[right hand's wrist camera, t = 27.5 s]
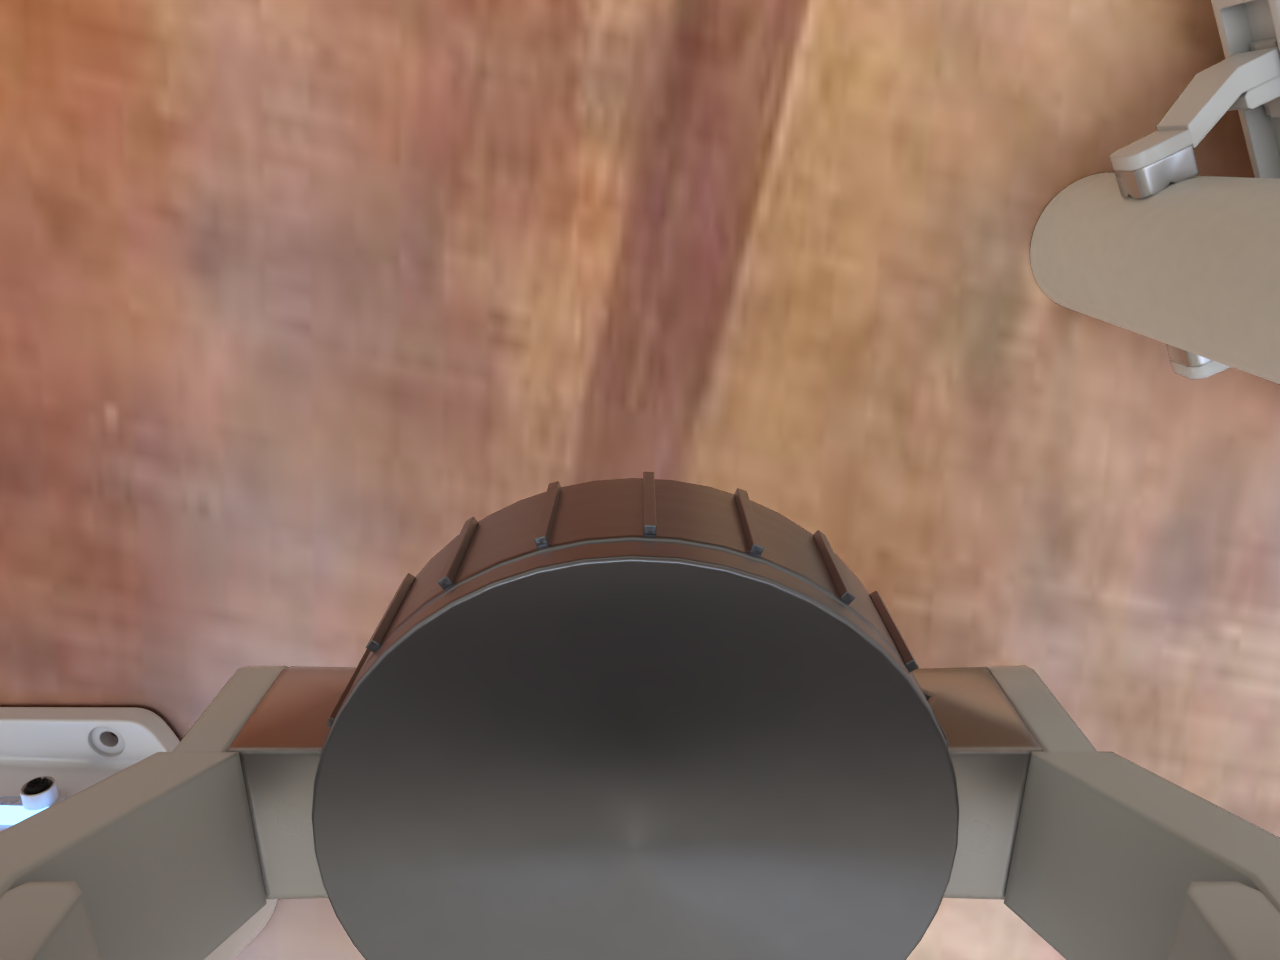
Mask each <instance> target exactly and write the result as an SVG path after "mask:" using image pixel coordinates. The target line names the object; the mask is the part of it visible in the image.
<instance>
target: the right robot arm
mask: <svg viewBox="0 0 1280 960" xmlns="http://www.w3.org/2000/svg"><path fill="white" fill-rule="evenodd" d="M355 670H356V668H346V667H295V666H292V667H287V666H248V667H244V668H240V669H238V670H237V671H236V672H235V673H234V675H233V676H232V677H231V678H230V680H229V681H228V682H227V683H226V685H225V686H224V687H223V689H222V690H221V691H220V692H219V694H218V695H217V696H216V697H215V699H214V700H213V701H212V702H211V704H210V705H209V706H208V707H207V709H206V710H205V711H204V713H203V714H202V715H201V716H200V718H199V719H198V720H197V721H196V723H195V724H194V725H193V726H192V728H191V729H190V730H189V731H188V733H187V734H186V735H185V736H184V738H183V739H182V740H181V742H180V741H179V739H178V738H177V736H176V735H175V734H174V732H173V731H172V730H171V728H170V727H169V726H168V725H167V724H166V723H165V721H164V720H163V719H162V718H160V717H159V716H158V715H157V714H155V713H154V712H152V711H150V710H147V709H143V708H137V707H0V960H234V959H235V958H236V957H237V956H238V955H239V954H240V953H241V951H242V950H243V949H244V948H245V947H246V946H247V945H248V944H249V943H250V942H251V941H252V940H253V939H254V938H255V937H256V936H257V935H258V934H259V933H260V932H261V931H262V929H263V928H264V927H265V926H266V924H267V923H268V921H269V920H270V918H271V916H272V914H273V912H274V910H275V907H276V904H277V901H278V899H297V898H329V897H328V895H327V893H326V890H325V888H324V886H323V882H322V878H321V874H320V871H319V867H318V863H317V859H316V855H315V849H314V837H313V826H312V804H313V790H314V780H315V776H316V772H317V768H318V764H319V760H320V756H321V752H322V747H323V745H324V743H325V740H326V738H327V736H328V733H329V731H330V729H331V728H329V727H327V723H328V720H329V717H330V715H331V713H332V712H333V710H334V708H335V706H336V704H337V703H338V701H339V699H340V697H341V695H342V693H343V692H344V690H345V688H346V686H347V684H348V683H349V681H350V679H351V677H352V675H353V674H354V672H355ZM912 672H913V674H914V676H915V678H916V680H917V682H918V684H919V686H920V687H921V689H922V691H923V693H924V695H925V697H926V699H927V701H928V703H929V705H930V706H931V708H932V710H933V712H934V714H935V716H936V718H937V720H938V722H939V724H940V725H941V727H942V729H943V731H944V733H945V735H946V737H947V739H948V742H949V745H947V746H948V749H949V753H950V757H951V760H952V764H953V767H954V771H955V775H956V782H957V791H958V801H959V810H960V811H959V828H958V845H957V850H956V855H955V859H954V864H953V868H952V873H951V877H950V881H949V883H948V886H947V888H946V891H945V893H944V896H943V898H972V899H1005V900H1004V904H1005V905H1007V906H1008V907H1009V908H1010V909H1011V910H1012V911H1013V912H1014V913H1015V914H1017V915H1018V916H1019V917H1020V918H1021V919H1022V920H1023V921H1024V922H1025V923H1027V924H1028V925H1029V926H1030V927H1031V928H1032V929H1033V930H1034V931H1035V932H1037V933H1038V934H1039V935H1040V936H1041V937H1042V938H1043V939H1044V940H1045V941H1047V942H1048V943H1049V944H1050V945H1051V946H1052V947H1053V948H1054V949H1055V950H1057V951H1058V952H1059V953H1060V954H1061V955H1062V956H1063V957H1064V958H1065V959H1067V960H1280V838H1279V837H1277V836H1275V835H1273V834H1271V833H1269V832H1267V831H1265V830H1263V829H1261V828H1260V827H1258V826H1256V825H1254V824H1252V823H1250V822H1248V821H1246V820H1244V819H1242V818H1240V817H1238V816H1236V815H1234V814H1232V813H1230V812H1228V811H1226V810H1224V809H1222V808H1221V807H1219V806H1217V805H1215V804H1213V803H1211V802H1209V801H1207V800H1205V799H1203V798H1201V797H1199V796H1197V795H1195V794H1193V793H1191V792H1189V791H1187V790H1185V789H1183V788H1182V787H1180V786H1178V785H1176V784H1174V783H1172V782H1170V781H1168V780H1166V779H1164V778H1162V777H1160V776H1158V775H1156V774H1154V773H1152V772H1150V771H1148V770H1146V769H1144V768H1143V767H1141V766H1139V765H1137V764H1135V763H1133V762H1131V761H1129V760H1127V759H1125V758H1123V757H1121V756H1119V755H1117V754H1115V753H1113V752H1098V751H1097V750H1096V749H1095V748H1094V746H1093V745H1092V744H1091V742H1090V741H1089V740H1088V739H1087V737H1086V736H1085V735H1084V733H1083V732H1082V731H1081V730H1080V728H1079V727H1078V726H1077V725H1076V723H1075V722H1074V721H1073V719H1072V718H1071V717H1070V716H1069V714H1068V713H1067V712H1066V710H1065V709H1064V708H1063V707H1062V705H1061V704H1060V703H1059V701H1058V700H1057V699H1056V698H1055V696H1054V695H1053V694H1052V692H1051V691H1050V690H1049V689H1048V687H1047V686H1046V685H1045V684H1044V682H1043V681H1042V680H1041V678H1040V677H1039V676H1038V675H1037V673H1036V672H1035V671H1034V670H1033V669H1031V668H1029V667H1027V666H1025V665H1023V666H997V667H972V668H932V669H916V670H914V671H912ZM110 732H112V733H114V734H115V735H116V736H117V737H115V736H113V735H112V734H111V733H110Z"/></svg>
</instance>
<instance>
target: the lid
mask: <svg viewBox="0 0 1280 960" xmlns="http://www.w3.org/2000/svg"><path fill="white" fill-rule="evenodd" d="M366 648H367V650H366V652H365V654H364V655H363V657H362V659H361V661H360V663H359V664H358V666H357V668H356V670H355V672H354V674H353V675H352V677H351V679H350V681H349V683H348V684H347V686H346V688H345V690H344V692H343V693H342V695H341V697H340V699H339V701H338V703H337V704H336V706H335V708H334V710H333V712H332V713H331V715H330V717H329V720H328V723H327V727H329V728H331V729H330V731H329V733H328V736H327V738H326V740H325V743H324V745H323V747H322V752H321V756H320V760H319V764H318V768H317V772H316V776H315V780H314V790H313V804H312V826H313V837H314V849H315V855H316V859H317V863H318V867H319V871H320V874H321V878H322V882H323V886H324V888H325V890H326V893H327V895H328V897H329V900H330V902H331V904H332V907H333V909H334V912H335V914H336V916H337V918H338V919H339V921H340V923H341V924H342V926H343V928H344V929H345V931H346V933H347V934H348V936H349V937H350V939H351V941H352V942H353V944H354V946H355V947H356V948H357V949H358V950H359V952H360V953H361V954H362V955H363V957H364V958H365V959H366V960H906V959H907V957H908V956H909V955H910V954H911V952H912V951H913V950H914V948H915V947H916V946H917V945H918V943H919V942H920V941H921V939H922V937H923V935H924V934H925V932H926V930H927V929H928V927H929V925H930V923H931V922H932V920H933V918H934V916H935V915H936V913H937V911H938V909H939V906H940V904H941V901H942V898H943V896H944V893H945V891H946V888H947V886H948V883H949V881H950V877H951V873H952V868H953V864H954V859H955V855H956V850H957V845H958V828H959V811H960V810H959V801H958V791H957V782H956V775H955V771H954V767H953V764H952V760H951V757H950V753H949V749H948V746H947V745H949V742H948V739H947V737H946V735H945V733H944V731H943V729H942V727H941V725H940V724H939V722H938V720H937V718H936V716H935V714H934V712H933V710H932V708H931V706H930V705H929V703H928V701H927V699H926V697H925V695H924V693H923V691H922V689H921V687H920V686H919V684H918V682H917V680H916V678H915V676H914V674H913V672H912V671H914V670H916V669H918V668H919V666H918V665H917V663H916V661H915V659H914V657H913V655H912V654H911V652H910V650H909V648H908V646H907V644H906V643H905V641H904V639H903V637H902V635H901V633H900V632H899V630H898V628H897V626H896V624H895V622H894V621H893V619H892V617H891V615H890V613H889V611H888V609H887V608H886V606H885V604H884V602H883V600H882V598H881V597H880V595H879V594H878V592H877V591H875V592H873V593H871V594H870V595H869V593H868V592H867V590H866V589H865V587H864V586H863V584H862V583H861V581H860V580H859V579H858V578H857V577H856V576H855V574H854V573H853V572H852V571H851V570H850V569H849V568H848V567H847V566H846V564H845V563H844V562H843V561H842V560H841V559H840V558H839V557H838V556H837V555H836V554H835V553H834V552H833V550H832V548H831V546H830V544H829V542H828V540H827V538H826V536H825V535H824V534H823V533H822V532H820V531H819V530H818V531H817V532H816V533H815V534H814V535H812V534H811V533H810V532H808V531H807V530H805V529H803V528H802V527H800V526H799V525H797V524H795V523H794V522H792V521H791V520H789V519H788V518H786V517H784V516H783V515H781V514H779V513H777V512H775V511H773V510H771V509H769V508H766V507H764V506H762V505H760V504H758V503H755V502H753V501H751V500H749V497H748V494H747V492H746V491H744V490H741V489H738V488H737V490H736V492H735V494H731V493H728V492H724V491H721V490H718V489H715V488H711V487H707V486H701V485H696V484H690V483H684V482H679V481H673V480H657V479H654V472H644V473H643V479H638V478H629V479H615V480H601V481H592V482H587V483H582V484H576V485H571V486H566V487H561V486H560V483H559V482H554V483H550V484H549V486H548V490H547V492H544V493H541V494H538V495H535V496H532V497H529V498H526V499H523V500H520V501H518V502H516V503H514V504H512V505H510V506H508V507H506V508H504V509H502V510H500V511H497V512H495V513H493V514H491V515H489V516H487V517H486V518H484V519H483V520H481V521H480V522H477V520H476V519H475V518H474V517H472V518H471V519H469V520H467V521H466V522H465V524H464V526H463V528H462V531H461V533H460V535H458V536H457V537H456V538H455V539H453V540H452V541H451V542H450V543H449V544H448V545H447V546H445V547H444V548H443V549H442V550H441V551H440V552H439V553H437V554H436V555H435V556H434V557H433V558H432V559H431V560H430V561H429V562H428V563H427V564H426V566H425V567H424V568H423V569H422V570H421V571H420V573H419V574H418V575H417V576H416V577H414V576H412V575H411V574H408V575H407V576H406V577H405V578H404V580H403V581H402V583H401V585H400V587H399V589H398V590H397V592H396V594H395V596H394V598H393V599H392V601H391V603H390V605H389V607H388V608H387V610H386V612H385V614H384V616H383V617H382V619H381V621H380V623H379V625H378V626H377V628H376V630H375V632H374V634H373V635H372V637H371V639H370V641H369V643H368V644H367V646H366Z"/></svg>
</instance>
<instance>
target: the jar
mask: <svg viewBox="0 0 1280 960" xmlns="http://www.w3.org/2000/svg"><path fill="white" fill-rule="evenodd" d="M1030 261H1031V268H1032V271H1033V275H1034V277H1035V279H1036V282H1037V284H1038V285H1039V287H1040V288H1041V290H1042V291H1043V292H1044V293H1045V294H1046V296H1048V297H1049V298H1050V299H1051V300H1052V301H1054V302H1055V303H1057V304H1059V305H1061V306H1063V307H1065V308H1068V309H1071V310H1074V311H1076V312H1079V313H1082V314H1085V315H1088V316H1090V317H1093V318H1096V319H1099V320H1101V321H1104V322H1107V323H1110V324H1113V325H1115V326H1118V327H1121V328H1124V329H1127V330H1129V331H1132V332H1135V333H1138V334H1140V335H1143V336H1146V337H1149V338H1152V339H1154V340H1157V341H1160V342H1163V343H1166V344H1168V345H1171V346H1174V347H1177V348H1180V349H1182V350H1185V351H1188V352H1191V353H1193V354H1196V355H1199V356H1202V357H1205V358H1207V359H1210V360H1213V361H1216V362H1219V363H1221V364H1224V365H1227V366H1230V367H1233V368H1235V369H1238V370H1241V371H1244V372H1246V373H1249V374H1252V375H1255V376H1258V377H1260V378H1263V379H1266V380H1269V381H1272V382H1274V383H1277V384H1280V179H1275V178H1248V177H1222V176H1192V177H1190V178H1188V179H1186V180H1184V181H1181V182H1178V183H1169V184H1168V186H1167V187H1166V189H1164V190H1162V191H1160V192H1159V193H1157V194H1154V195H1151V196H1148V197H1145V198H1140V199H1134V198H1133V197H1132V196H1130V197H1128V198H1124V197H1122V196H1121V193H1120V190H1119V186H1118V183H1117V180H1116V177H1115V173H1114V172H1109V173H1099V174H1094V175H1090V176H1087V177H1084V178H1082V179H1080V180H1077V181H1076V182H1074V183H1072V184H1070V185H1069V186H1067V187H1066V188H1065V189H1063V190H1062V191H1061V192H1060V193H1059V194H1057V195H1056V196H1055V197H1054V198H1053V199H1052V201H1051V202H1050V203H1049V204H1048V205H1047V207H1046V208H1045V210H1044V211H1043V213H1042V214H1041V216H1040V218H1039V220H1038V222H1037V224H1036V227H1035V229H1034V232H1033V236H1032V240H1031V247H1030Z"/></svg>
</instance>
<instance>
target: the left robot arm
mask: <svg viewBox="0 0 1280 960" xmlns="http://www.w3.org/2000/svg"><path fill="white" fill-rule="evenodd" d="M1211 3H1212V7H1213V11H1214V15H1215V19H1216V23H1217V27H1218V31H1219V35H1220V39H1221V43H1222V47H1223V52H1224V56H1225V60H1223V61H1221V62H1219V63H1217V64H1215V65H1213V66H1211V67H1209V68H1207V69H1205V70H1203V71H1201V72H1199V73H1197V74H1196V75H1195V76H1194V78H1193V79H1192V80H1191V82H1190V83H1189V84H1188V86H1187V87H1186V88H1185V90H1184V91H1183V92H1182V93H1181V95H1180V96H1179V97H1178V99H1177V100H1176V101H1175V103H1174V104H1173V105H1172V107H1171V108H1170V109H1169V111H1168V112H1167V113H1166V115H1165V116H1164V117H1163V119H1162V120H1161V121H1160V123H1159V124H1158V125H1157V126H1156V128H1157V131H1155V132H1153V133H1151V134H1149V135H1147V136H1145V137H1143V138H1141V139H1139V140H1137V141H1135V142H1133V143H1131V144H1129V145H1127V146H1125V147H1123V148H1120V149H1118V150H1116V151H1115V152H1113V153H1112V154H1111V155H1110V160H1111V163H1112V166H1113V170H1114V173H1115V177H1116V180H1117V183H1118V186H1119V190H1120V193H1121V196H1122V197H1124V198H1128V197H1130V196H1132V197H1133V198H1134V199H1140V198H1145V197H1148V196H1151V195H1154V194H1157V193H1159V192H1160V191H1162V190H1164V189H1166V187H1167V186H1168V184H1169V183H1178V182H1181V181H1184V180H1186V179H1188V178H1190V177H1192V176H1195V175H1197V174H1199V172H1198V168H1197V163H1196V159H1195V155H1194V150H1193V148H1196V146H1197V145H1198V144H1199V143H1200V142H1201V141H1202V139H1203V138H1204V137H1205V136H1206V135H1207V134H1208V133H1209V131H1210V130H1211V129H1212V128H1213V127H1214V126H1215V124H1216V123H1217V122H1218V121H1219V120H1220V119H1221V118H1222V116H1223V115H1224V114H1225V113H1226V112H1227V111H1234V110H1238V113H1239V117H1240V121H1241V125H1242V129H1243V133H1244V137H1245V141H1246V145H1247V149H1248V153H1249V157H1250V161H1251V165H1252V169H1253V173H1254V177H1255V178H1275V179H1280V0H1211ZM1166 346H1167V350H1168V354H1169V357H1170V362H1171V365H1172V368H1173V371H1174V373H1176V374H1179V375H1181V376H1184V377H1186V378H1189V379H1202V378H1206V377H1210V376H1212V375H1214V374H1217V373H1219V372H1221V371H1223V370H1226V369H1228V368H1230V366H1227V365H1224V364H1221V363H1219V362H1216V361H1213V360H1210V359H1207V358H1205V357H1202V356H1199V355H1196V354H1193V353H1191V352H1188V351H1185V350H1182V349H1180V348H1177V347H1174V346H1171V345H1168V344H1166Z"/></svg>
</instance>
